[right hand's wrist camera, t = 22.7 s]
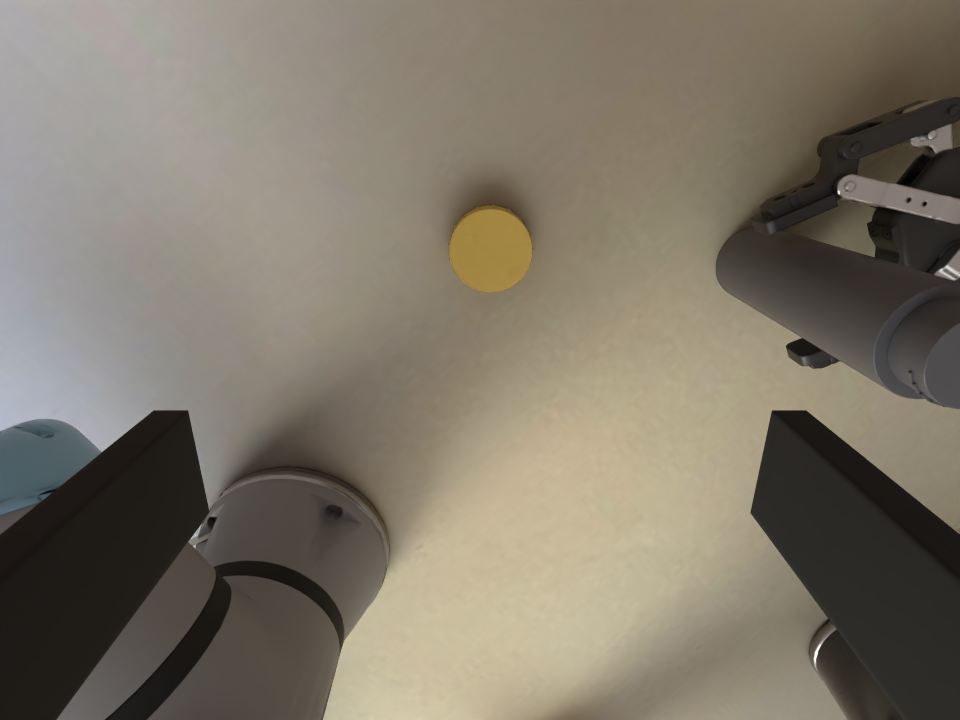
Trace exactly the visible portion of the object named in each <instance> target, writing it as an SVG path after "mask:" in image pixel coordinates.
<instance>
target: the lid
mask: <svg viewBox="0 0 960 720" xmlns="http://www.w3.org/2000/svg"><path fill="white" fill-rule="evenodd" d="M453 230H454V232H453V234H452V237H451V239H450V241H449V256H450V258H449V260H450V262H451V265H452V267H453V269H454V271H455V273H456V275H457V276H458V277H459V278H460V280H461V281H463V282H464V283H465V284H466V285H468V286H469V287H471V288H473V289H475V290H478V291H482V292H500V291H503V290H506V289H508V288H510V287H512V286H514V285H515V284H516V283H518V282H519V281H520V280H521V279H522V278H523V276H524V275H525V274H526V272H527V270H528V268H529V266H530V263H531V259H532V250H533V248H532V242H531V238H530V235H531V234H530V232H529V230H527V229H526V227H525V225H524V223H523V222H522V219H521V217H518V216H517V215H516V214H514V213H513V212H512V211H510V210H509V208H507V209H506V208H503V207H500V206H494V204H493V205H488V206H481V207H479V206H478V207H477V208H475V209H473V210H471V211H470V212H468V213H467V214H466V213H465V214H464V216H463V217H462V218H461V219H460V221H459V222H458V223H457V225H455V226H454V229H453Z"/></svg>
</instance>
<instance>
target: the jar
mask: <svg viewBox="0 0 960 720" xmlns="http://www.w3.org/2000/svg"><path fill="white" fill-rule="evenodd" d="M716 275H717V279H718V281H719V283H720V285H721V286H722V288H723V289H724V290H725V291H726V292H728V293H729V294H731V295H733V296H734V297H736V298H737V299H739V300H741V301H742V302H744V303H746V304H747V305H749V306H751V307H752V308H754V309H756V310H757V311H759V312H761V313H762V314H764V315H766V316H767V317H769V318H770V319H772V320H774V321H775V322H777V323H779V324H780V325H782V326H784V327H785V328H787V329H789V330H790V331H792V332H794V333H795V334H797V335H799V336H800V337H802V338H803V339H805V340H807V341H808V342H810V343H812V344H813V345H815V346H817V347H818V348H820V349H822V350H823V351H825V352H827V353H828V354H830V355H832V356H833V357H835V358H836V359H838V360H840V361H841V362H843V363H845V364H846V365H848V366H850V367H851V368H853V369H855V370H856V371H858V372H860V373H861V374H863V375H865V376H866V377H868V378H869V379H871V380H873V381H874V382H876V383H878V384H879V385H881V386H883V387H884V388H886V389H888V390H889V391H891V392H893V393H894V394H897V395H899V396H902V397H906V398H912V399H926V400H927V401H929V402H931V403H934V404H937V405H941V406H943V407H949V408H955V409H960V282H957V281H954V280H950V279H947V278H943V277H940V276H936V275H933V274H930V273H926V272H923V271H919V270H916V269H912V268H909V267H905V266H902V265H898V264H895V263H891V262H888V261H885V260H881V259H878V258H874V257H871V256H867V255H864V254H860V253H857V252H853V251H850V250H846V249H843V248H840V247H836V246H833V245H829V244H826V243H822V242H819V241H815V240H812V239H808V238H805V237H801V236H798V235H795V234H791V233H788V232H784V231H779V232H776V233H773V234H763V233H760V232H757V231H754V228H753V226H752V227H748V228H745V229H743V230H741V231H739V232H737V233H736V234H734V235H733V236H732V237H731V238H729V239H728V240H727V242H726V243H725V244H724V245H723V247H722V249H721V250H720V252H719V255H718V258H717V262H716Z"/></svg>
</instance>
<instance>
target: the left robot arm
mask: <svg viewBox="0 0 960 720" xmlns="http://www.w3.org/2000/svg"><path fill="white" fill-rule="evenodd" d="M959 119H960V98H958V97H955V98H945V99H935V100H925V101H918V102H915V103H912V104H910V105H907V106H905V107H902V108H899V109H897V110H894V111H892V112H889V113H886V114H884V115H881V116H879V117H876V118H873V119H871V120H868V121H866V122H863V123H860V124H858V125H855V126H853V127H850V128H847V129H845V130H842V131H840V132H837V133H835V134H832V135H829V136H827V137H825V138H823V139H822V140H821V141H820V142H819V144H818V147H817V153H818V155H819V156H820V157H821V163H820V169H819V172H818V173H817V175H816V176H815V177H814V178H813V179H812V180H810V181H809V182H806V183H804V184H802V185H799V186H797V187H795V188H793V189H790V190H788V191H786V192H784V193H781V194H779V195H777V196H774V197H772V198H770V199H768V200H766V201H765V202H764V203H763V204H762V205H761V206H760V207H759V208H760V211H761V213H760V214H758V215H756V216H754V217H752V218H751V221H752V224H753V228H754V231H757V232H760V233H763V234H773V233H776V232H779V231H781V230H783V229H786V228H788V227H790V226H793V225H795V224H797V223H800V222H802V221H804V220H807V219H809V218H811V217H814V216H816V215H818V214H821V213H823V212H825V211H828V210H830V209H832V208H835V207H837V206H838V204H837V200H839V199H841V200H845V201H847V202H851V203H855V204H860V205H864V206H868V207H872V208H876V210H875V212H874V214H873V217H872V221H871V222H869V223H867V226H868V231H869V235H870V237H871V239H872V241H873V242H874V244H875V246H876V249H875V258H878V259H881V260H885V261H888V262H891V263H895V264H898V265H902V266H905V267H909V268H912V269H916V270H919V271H923V272H926V273H930V274H933V275H936V276H940V277H943V278H947V279H950V280H954V281H957V282H960V147H958V148H955V149H954V147H953V134H952V123H954V122H956V121H958V120H959ZM899 143H900V144H901V145H902V146H904V147H919V148H920V149H921V150H922V152H923V154H921V155H920V156H918V157H917V158H916V159H915V160H914V162H913V163H912V164H911V165H910V167H909V168H908V169H907V170H906V172H905V173H904V174H903V175H902V177H901V178H900V179H899V180H898V182H897V183H896V184H894V183H888V182H883V181H878V180H874V179H870V178H866V177H862V176H858V175H857V171H858V164H859V158H862V157H864V156H867V155H870V154H872V153H875V152H878V151H880V150H883V149H886V148H888V147H891V146H894V145H896V144H899ZM786 348H787V352H788V356H789V358H791V359H792V360H794V361H795V362H797V363H798V364H799V365H801V366H810V367H811V368H813V369H815V368H824V367H826V366H829V365H831V364H834V363H837V362H838V361H840V360H838V359H836V358H835V357H833V356H832V355H830V354H828V353H827V352H825V351H823V350H822V349H820V348H818V347H817V346H815V345H813V344H812V343H810V342H808V341H807V340H805V339H803V338H801V339H798V340H796V341H793V342H791V343H789V344H787V346H786ZM809 656H810V661H811V664H812V666H813V667H814V669H815V671H816V672H817V674H818V675H819V677H820V678H821V679H822V680H823V681H824V683H825V684H826V686H827V688H828V689H829V691H830V692H831V694H832V695H833V697H834V699H835V700H836V702H837V703H838V705H839V707H840V708H841V710H842V712H843V713H844V715H845V716H846V718H847V719H848V720H903V718H902V717H901V716H900V714H899V713H898V712H897V710H896V709H895V708H894V706H893V705H892V703H891V702H890V701H889V699H888V698H887V697H886V695H885V694H884V693H883V691H882V690H881V689H880V687H879V686H878V685H877V683H876V682H875V680H874V679H873V678H872V676H871V675H870V674H869V672H868V671H867V670H866V668H865V667H864V666H863V664H862V663H861V662H860V660H859V659H858V658H857V656H856V655H855V653H854V652H853V651H852V649H851V648H850V647H849V645H848V644H847V643H846V641H845V640H844V639H843V637H842V636H841V635H840V633H839V632H838V630H837V629H836V628H835V626H834V625H833V624H832V622H831V621H829V622H828V623H827V624H825V625H824V626H823V627H822V628H821V629H820V630H819V631H818V633H817V634H816V635H815V637H814V639H813V641H812V643H811V646H810V651H809Z"/></svg>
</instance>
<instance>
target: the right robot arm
mask: <svg viewBox="0 0 960 720" xmlns="http://www.w3.org/2000/svg"><path fill="white" fill-rule="evenodd" d="M751 514H752V516H753V517H754V518H755V520H756V521H757V522H758V524H759V525H760V526H761V528H762V529H763V530H764V532H765V533H766V534H767V536H768V537H769V539H770V540H771V541H772V543H773V544H774V545H775V547H776V548H777V549H778V551H779V552H780V553H781V555H782V556H783V557H784V559H785V560H786V562H787V563H788V564H789V566H790V567H791V568H792V570H793V571H794V572H795V574H796V575H797V576H798V578H799V579H800V580H801V582H802V583H803V584H804V586H805V587H806V589H807V590H808V591H809V593H810V594H811V595H812V597H813V598H814V599H815V601H816V602H817V603H818V605H819V606H820V607H821V609H822V610H823V612H824V613H825V614H826V616H827V617H828V618H829V620H830V621H831V622H832V624H833V625H834V626H835V628H836V629H837V630H838V632H839V633H840V635H841V636H842V637H843V639H844V640H845V641H846V643H847V644H848V645H849V647H850V648H851V649H852V651H853V652H854V653H855V655H856V656H857V658H858V659H859V660H860V662H861V663H862V664H863V666H864V667H865V668H866V670H867V671H868V672H869V674H870V675H871V676H872V678H873V679H874V680H875V682H876V683H877V685H878V686H879V687H880V689H881V690H882V691H883V693H884V694H885V695H886V697H887V698H888V699H889V701H890V702H891V703H892V705H893V706H894V708H895V709H896V710H897V712H898V713H899V714H900V716H901V717H902V718H903V720H960V534H958V533H957V532H956V531H955V530H953V529H952V528H951V527H950V526H949V525H947V524H946V523H945V522H944V521H942V520H941V519H940V518H939V517H937V516H936V515H935V514H934V513H932V512H931V511H930V510H929V509H927V508H926V507H925V506H924V505H923V504H921V503H920V502H919V501H918V500H916V499H915V498H914V497H913V496H911V495H910V494H909V493H908V492H906V491H905V490H904V489H903V488H901V487H900V486H899V485H898V484H897V483H895V482H894V481H893V480H892V479H890V478H889V477H888V476H887V475H885V474H884V473H883V472H882V471H880V470H879V469H878V468H877V467H875V466H874V465H873V464H872V463H870V462H869V461H868V460H867V459H866V458H864V457H863V456H862V455H861V454H859V453H858V452H857V451H856V450H854V449H853V448H852V447H851V446H849V445H848V444H847V443H846V442H844V441H843V440H842V439H841V438H840V437H838V436H837V435H836V434H835V433H833V432H832V431H831V430H830V429H828V428H827V427H826V426H825V425H823V424H822V423H821V422H820V421H818V420H817V419H816V418H815V417H814V416H812V415H811V414H810V413H809V412H807V411H772V413H771V418H770V423H769V427H768V432H767V437H766V442H765V446H764V451H763V456H762V461H761V465H760V470H759V475H758V480H757V484H756V489H755V494H754V499H753V503H752V508H751ZM202 522H203V524H202ZM201 524H202V526H201V529H200V532H199V535H198V536H197V537H195V538H193V539H191V537H192V536H193V534H194V533H195V532H196V530H197V529H198V528H199V526H200V525H201ZM190 539H191V540H190ZM195 544H196V548H194V547H193V545H195ZM388 560H389V540H388V535H387V531H386V528H385V526H384V524H383V521H382V520H381V518H380V516H379V514H378V513H377V511H376V510H375V508H374V507H373V506H372V505H371V504H370V502H369V501H368V500H367V499H366V498H365V497H364V496H362V495H361V494H360V493H359V492H358V491H356V490H355V489H354V488H352V487H351V486H349V485H348V484H346V483H344V482H342V481H341V480H338V479H336V478H334V477H332V476H329V475H327V474H324V473H321V472H317V471H313V470H308V469H302V468H286V467H285V468H273V469H267V470H262V471H258V472H255V473H253V474H250V475H248V476H245V477H243V478H241V479H240V480H238V481H236V482H235V483H234V484H232V485H231V486H230V487H228V488H227V489H226V490H225V491H224V492H223V493H222V495H221V496H220V497H219V498H218V499H217V501H216V502H215V503H214V505H213V506H212V507H211V509H210V510H209V508H208V503H207V499H206V494H205V489H204V484H203V480H202V475H201V470H200V465H199V461H198V456H197V451H196V446H195V442H194V437H193V432H192V427H191V423H190V418H189V413H188V411H153V412H151V413H150V414H149V415H148V416H146V417H145V418H144V419H143V420H142V421H140V422H139V423H138V424H137V425H135V426H134V427H133V428H132V429H130V430H129V431H128V432H127V433H125V434H124V435H123V436H122V437H120V438H119V439H118V440H117V441H116V442H114V443H113V444H112V445H111V446H109V447H108V448H107V449H106V450H104V451H103V452H101V451H100V450H99V449H98V448H97V447H96V446H95V445H93V444H92V443H91V442H90V441H89V440H88V439H87V438H86V437H85V436H84V435H83V434H82V433H81V432H79V431H78V430H77V429H76V428H74V427H73V426H71V425H69V424H67V423H65V422H62V421H58V420H52V419H37V420H32V421H27V422H23V423H20V424H18V425H15V426H12V427H10V428H7V429H5V430H3V431H0V720H323V717H324V714H325V710H326V706H327V702H328V698H329V694H330V691H331V687H332V683H333V679H334V675H335V672H336V668H337V664H338V660H339V656H340V652H341V649H342V646H343V642H344V640H345V639H346V638H347V636H348V635H349V633H350V632H351V631H352V629H353V628H354V627H355V625H356V624H357V622H358V621H359V619H360V618H361V617H362V615H363V614H364V612H365V611H366V609H367V608H368V607H369V606H370V605H371V603H372V602H373V601H374V599H375V597H376V596H377V594H378V592H379V590H380V588H381V586H382V584H383V581H384V578H385V574H386V570H387V565H388Z"/></svg>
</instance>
